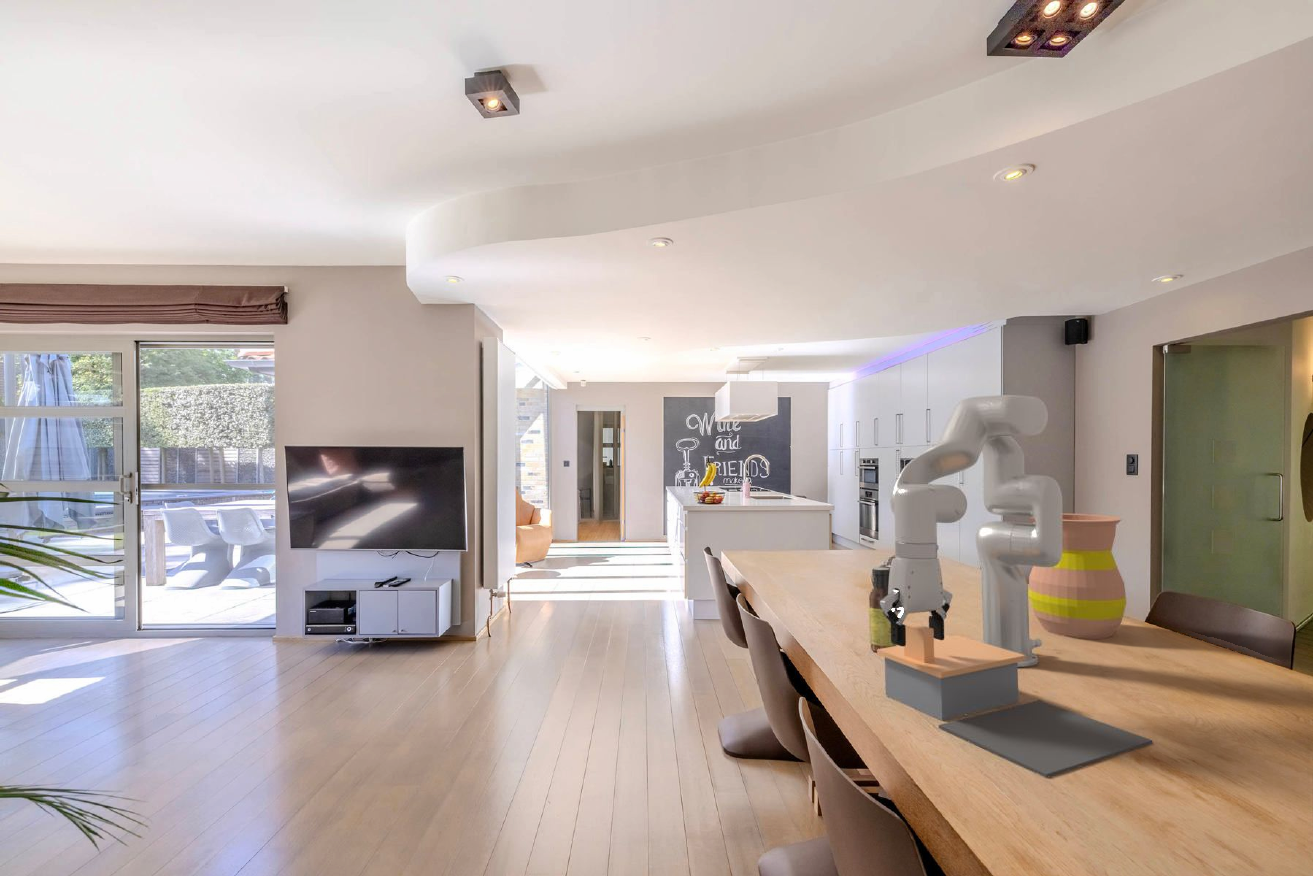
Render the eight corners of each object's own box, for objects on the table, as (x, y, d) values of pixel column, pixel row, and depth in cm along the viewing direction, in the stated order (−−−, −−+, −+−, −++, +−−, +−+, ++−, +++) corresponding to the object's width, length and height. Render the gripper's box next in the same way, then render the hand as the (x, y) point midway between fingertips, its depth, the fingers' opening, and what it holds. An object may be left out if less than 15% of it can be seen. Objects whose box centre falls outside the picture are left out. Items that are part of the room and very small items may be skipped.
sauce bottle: (899, 655, 159) (897, 571, 159) (871, 654, 160) (869, 570, 160) (895, 647, 165) (893, 566, 165) (868, 646, 166) (866, 566, 167)
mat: (1038, 702, 128) (1038, 700, 128) (1152, 743, 109) (1152, 740, 109) (938, 727, 117) (938, 725, 117) (1046, 777, 99) (1046, 774, 99)
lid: (957, 646, 142) (956, 606, 143) (1025, 668, 128) (1024, 623, 128) (877, 661, 133) (876, 619, 134) (941, 687, 119) (940, 638, 119)
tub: (958, 679, 141) (957, 641, 141) (1018, 701, 128) (1017, 659, 128) (885, 695, 133) (884, 655, 133) (942, 720, 120) (940, 675, 120)
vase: (1016, 619, 189) (1013, 513, 190) (1100, 621, 186) (1096, 513, 187) (1050, 641, 167) (1047, 521, 168) (1146, 643, 164) (1142, 521, 165)
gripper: (934, 546, 135) (935, 631, 134) (867, 551, 128) (868, 642, 127) (964, 550, 128) (966, 641, 127) (895, 557, 121) (897, 652, 120)
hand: (917, 641), depth 127 cm, fingers open, 9 cm apart
